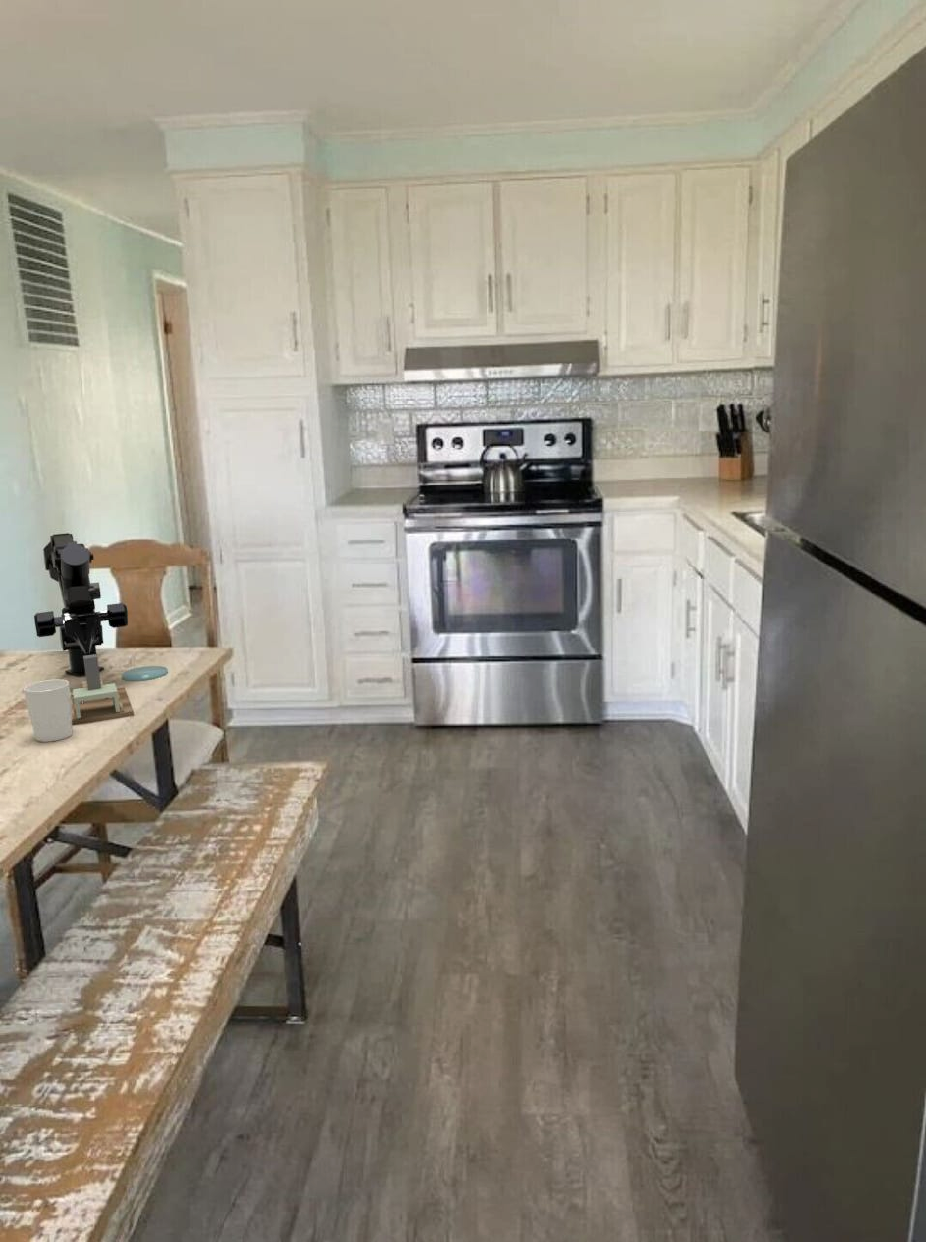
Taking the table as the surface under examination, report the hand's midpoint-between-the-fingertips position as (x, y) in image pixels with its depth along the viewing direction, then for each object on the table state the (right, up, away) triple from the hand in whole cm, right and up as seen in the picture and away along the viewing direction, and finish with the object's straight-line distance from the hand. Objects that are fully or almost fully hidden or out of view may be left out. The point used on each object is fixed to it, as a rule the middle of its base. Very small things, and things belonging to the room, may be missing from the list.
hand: (87, 652), depth 209 cm
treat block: (+3, -10, -3) cm, 11 cm away
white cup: (+3, -15, -23) cm, 28 cm away
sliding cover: (+7, -11, -13) cm, 19 cm away
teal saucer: (+7, -6, +16) cm, 18 cm away
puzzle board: (+5, -11, -7) cm, 14 cm away
